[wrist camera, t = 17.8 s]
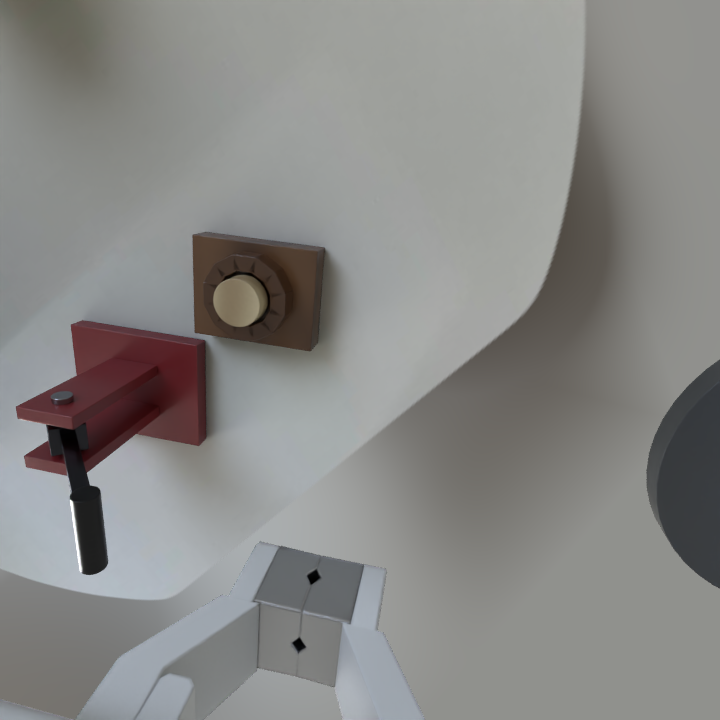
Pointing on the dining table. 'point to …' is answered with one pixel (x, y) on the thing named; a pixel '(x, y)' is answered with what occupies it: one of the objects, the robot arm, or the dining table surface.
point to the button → (240, 300)
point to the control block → (277, 275)
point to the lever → (81, 498)
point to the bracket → (123, 392)
